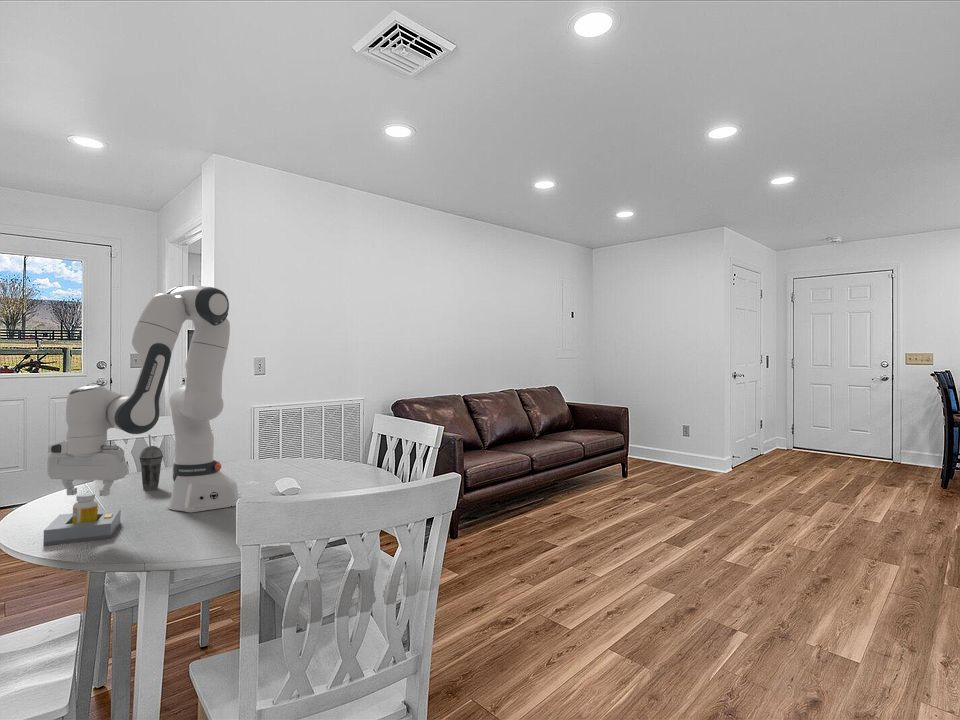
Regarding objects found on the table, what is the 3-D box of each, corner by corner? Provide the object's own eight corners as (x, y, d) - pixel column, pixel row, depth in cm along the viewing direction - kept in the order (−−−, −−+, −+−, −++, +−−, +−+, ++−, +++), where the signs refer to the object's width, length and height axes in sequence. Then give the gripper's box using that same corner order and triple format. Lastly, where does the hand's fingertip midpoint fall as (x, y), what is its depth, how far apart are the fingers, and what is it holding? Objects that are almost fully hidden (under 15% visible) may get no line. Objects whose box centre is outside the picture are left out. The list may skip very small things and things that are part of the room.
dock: (120, 522, 147) (120, 507, 147) (110, 538, 135) (110, 522, 135) (59, 528, 141) (59, 513, 141) (43, 545, 128) (43, 529, 128)
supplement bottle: (67, 533, 135) (68, 497, 135) (80, 526, 140) (81, 492, 140) (88, 532, 135) (89, 497, 136) (101, 526, 141) (102, 492, 141)
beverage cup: (167, 486, 188) (168, 433, 188) (152, 491, 180) (153, 435, 180) (148, 485, 188) (150, 432, 188) (133, 490, 181) (134, 435, 181)
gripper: (132, 443, 141) (133, 492, 141) (62, 442, 142) (63, 491, 142) (114, 448, 134) (115, 499, 135) (41, 446, 136) (43, 497, 136)
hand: (88, 495), depth 139 cm, fingers open, 8 cm apart
